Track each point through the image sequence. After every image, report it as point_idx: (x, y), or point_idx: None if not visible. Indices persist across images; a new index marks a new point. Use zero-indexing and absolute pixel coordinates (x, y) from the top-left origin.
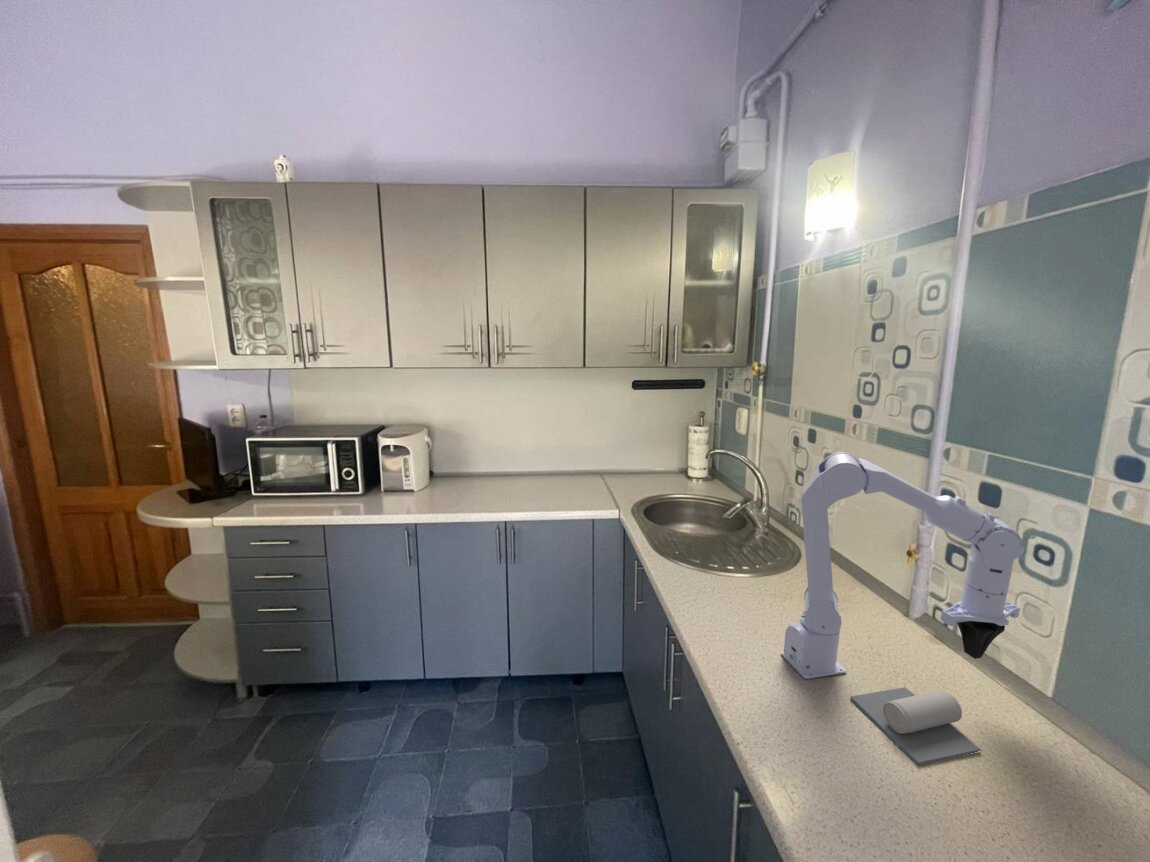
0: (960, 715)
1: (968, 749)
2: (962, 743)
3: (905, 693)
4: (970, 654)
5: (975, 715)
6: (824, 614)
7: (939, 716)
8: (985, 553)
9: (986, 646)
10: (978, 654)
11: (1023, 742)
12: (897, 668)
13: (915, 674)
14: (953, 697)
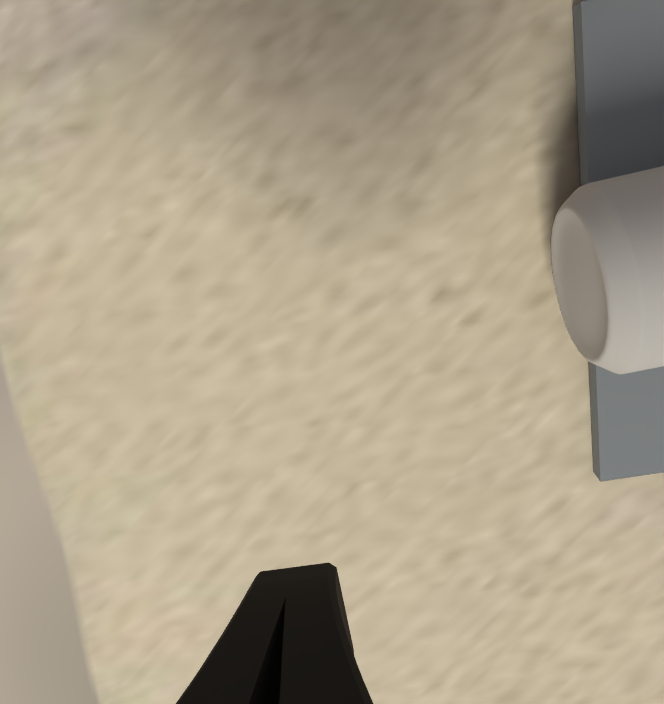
0: (607, 182)
1: (661, 1)
2: (655, 51)
3: (642, 437)
4: (343, 612)
5: (347, 287)
6: None
7: None
8: None
9: (220, 682)
10: (317, 594)
11: (233, 82)
12: (495, 610)
13: (432, 570)
14: (644, 270)
